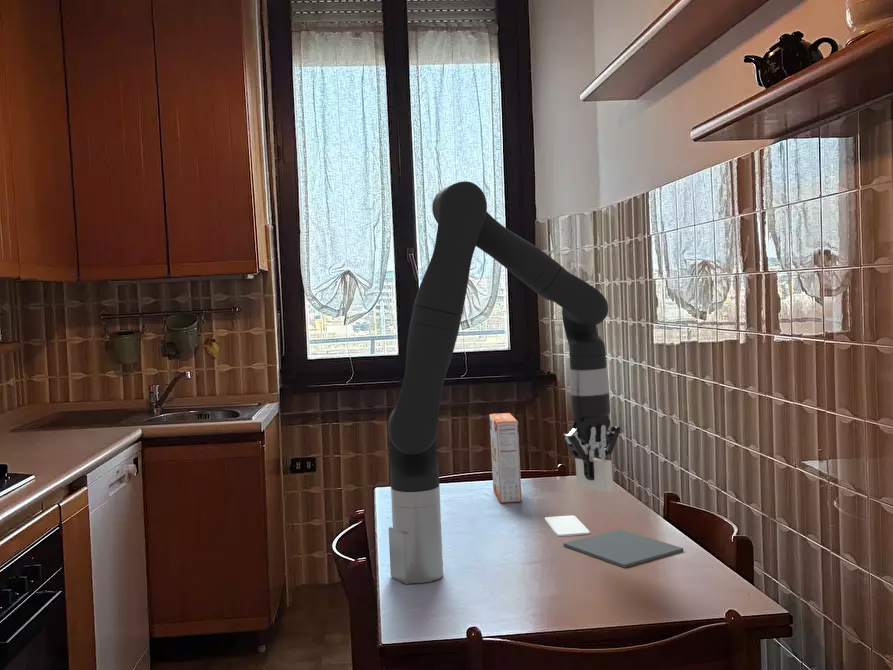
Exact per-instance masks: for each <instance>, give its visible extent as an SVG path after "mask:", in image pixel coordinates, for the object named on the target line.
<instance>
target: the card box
mask: <svg viewBox="0 0 893 670" xmlns="http://www.w3.org/2000/svg"><path fill="white" fill-rule="evenodd" d="M574 458H575V457H574ZM574 461H575V475H576V476H575V477H576V486H577V487H580V488H585V489H589V490H593V491H597V492H602V493H606V494H610V493H613V492H614V481H613V480H614V479H613V464H612V463H613V462H612V461H613V460H610V459H609V460H608V459H600V458H595V457H594V461H593V462H594V480H587V479H586V477H585V475H584V464H583V460H581V459H577V458H575V459H574Z"/></svg>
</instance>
